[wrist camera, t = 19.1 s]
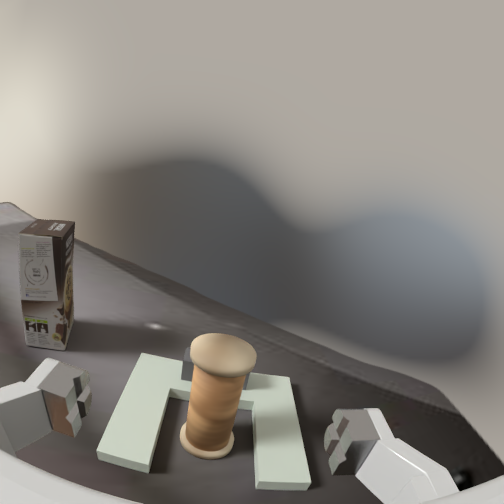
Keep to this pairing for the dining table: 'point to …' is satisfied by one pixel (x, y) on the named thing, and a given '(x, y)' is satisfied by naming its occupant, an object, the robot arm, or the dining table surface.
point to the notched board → (179, 386)
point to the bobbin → (215, 393)
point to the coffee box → (47, 282)
